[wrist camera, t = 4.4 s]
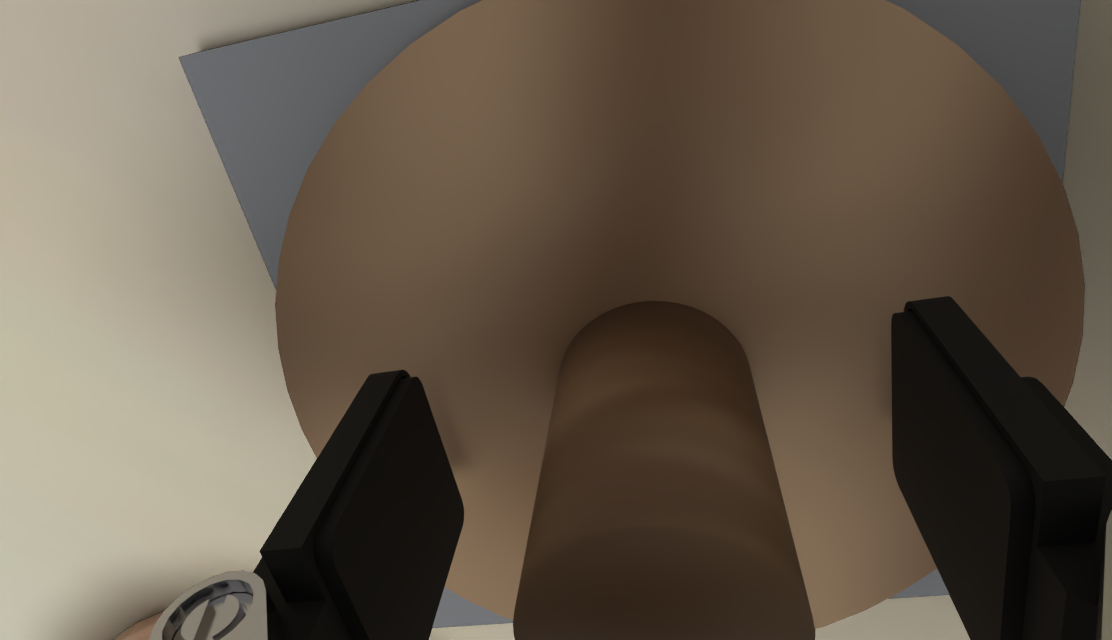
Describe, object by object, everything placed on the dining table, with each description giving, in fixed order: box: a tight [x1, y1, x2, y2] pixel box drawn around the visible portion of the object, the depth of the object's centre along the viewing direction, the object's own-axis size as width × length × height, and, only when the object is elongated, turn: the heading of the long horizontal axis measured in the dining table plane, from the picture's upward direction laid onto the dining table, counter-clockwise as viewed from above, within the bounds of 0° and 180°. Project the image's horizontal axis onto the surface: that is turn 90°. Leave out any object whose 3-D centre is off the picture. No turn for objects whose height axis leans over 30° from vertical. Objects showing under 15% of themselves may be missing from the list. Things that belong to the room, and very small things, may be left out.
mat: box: [179, 0, 1081, 628], centre depth 13 cm, size 13×13×1 cm
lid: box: [275, 0, 1085, 640], centre depth 10 cm, size 13×13×6 cm
